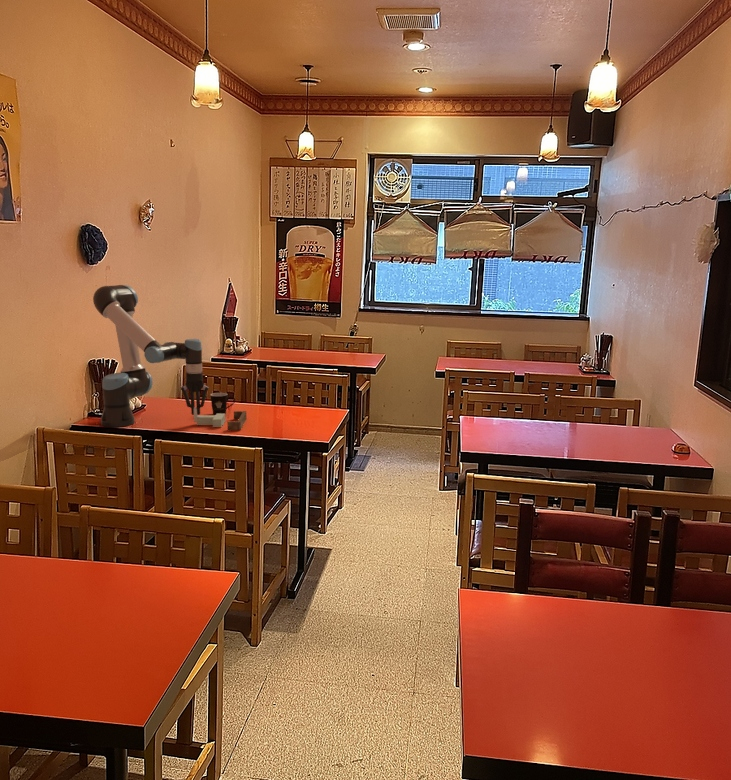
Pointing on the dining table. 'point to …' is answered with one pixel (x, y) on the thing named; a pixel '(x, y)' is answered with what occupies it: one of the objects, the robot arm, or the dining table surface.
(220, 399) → the coffee mug
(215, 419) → the tee block
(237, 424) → the fence
